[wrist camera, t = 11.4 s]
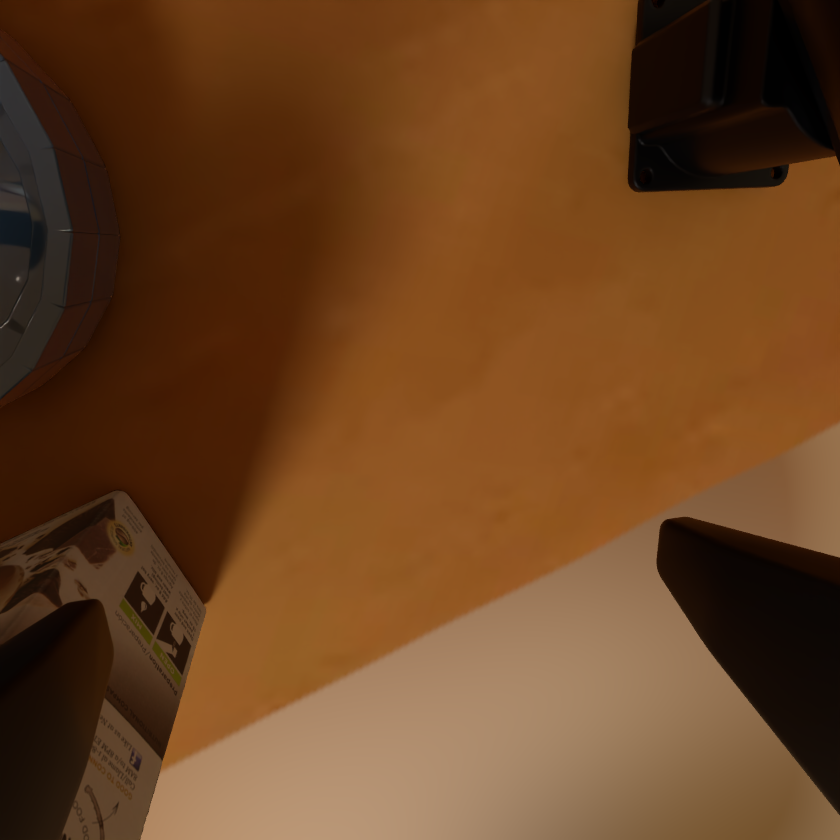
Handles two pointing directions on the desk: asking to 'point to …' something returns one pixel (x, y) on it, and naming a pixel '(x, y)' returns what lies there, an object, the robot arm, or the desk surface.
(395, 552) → the desk surface
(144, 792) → the coffee box
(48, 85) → the bowl
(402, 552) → the desk surface
